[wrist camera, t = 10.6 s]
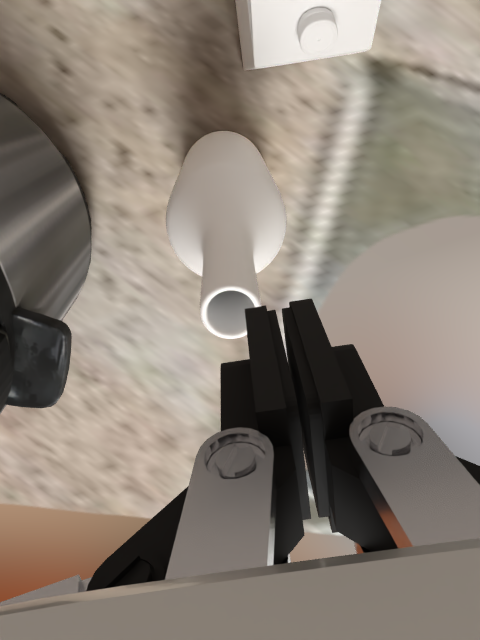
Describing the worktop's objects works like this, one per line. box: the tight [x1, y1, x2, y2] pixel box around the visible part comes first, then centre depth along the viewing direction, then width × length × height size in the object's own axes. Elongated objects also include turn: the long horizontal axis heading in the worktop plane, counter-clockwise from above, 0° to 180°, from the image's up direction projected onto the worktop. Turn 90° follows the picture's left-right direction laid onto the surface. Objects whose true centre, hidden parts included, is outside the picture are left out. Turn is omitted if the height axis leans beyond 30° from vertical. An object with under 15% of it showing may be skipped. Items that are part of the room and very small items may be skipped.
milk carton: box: [235, 0, 381, 70], centre depth 31 cm, size 7×7×19 cm
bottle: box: [166, 131, 287, 339], centre depth 32 cm, size 8×8×30 cm
